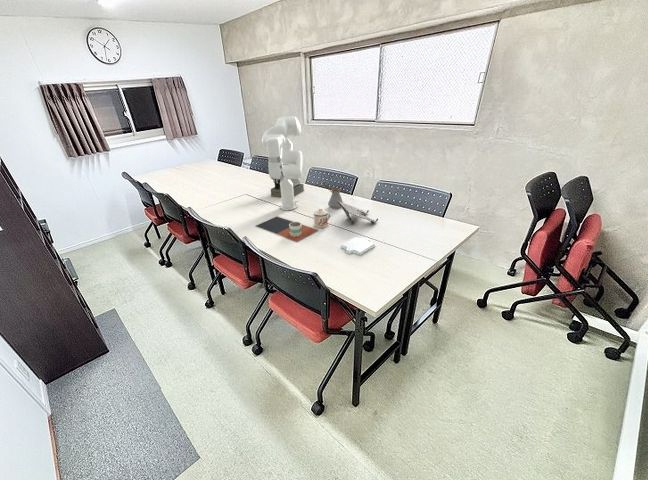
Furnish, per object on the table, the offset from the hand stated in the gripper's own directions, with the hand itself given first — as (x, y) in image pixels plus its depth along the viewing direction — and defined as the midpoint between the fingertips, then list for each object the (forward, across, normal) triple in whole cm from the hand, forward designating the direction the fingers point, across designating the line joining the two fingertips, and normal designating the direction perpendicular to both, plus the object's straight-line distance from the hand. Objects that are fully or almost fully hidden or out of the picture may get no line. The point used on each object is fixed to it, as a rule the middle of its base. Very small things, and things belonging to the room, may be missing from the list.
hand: (277, 188), depth 182 cm
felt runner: (+23, -10, +5) cm, 26 cm away
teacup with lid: (+24, -26, -12) cm, 38 cm away
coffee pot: (+25, -10, -45) cm, 52 cm away
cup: (+23, -21, +8) cm, 32 cm away
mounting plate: (+23, -61, 0) cm, 65 cm away
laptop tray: (+24, -41, -32) cm, 57 cm away
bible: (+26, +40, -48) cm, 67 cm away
